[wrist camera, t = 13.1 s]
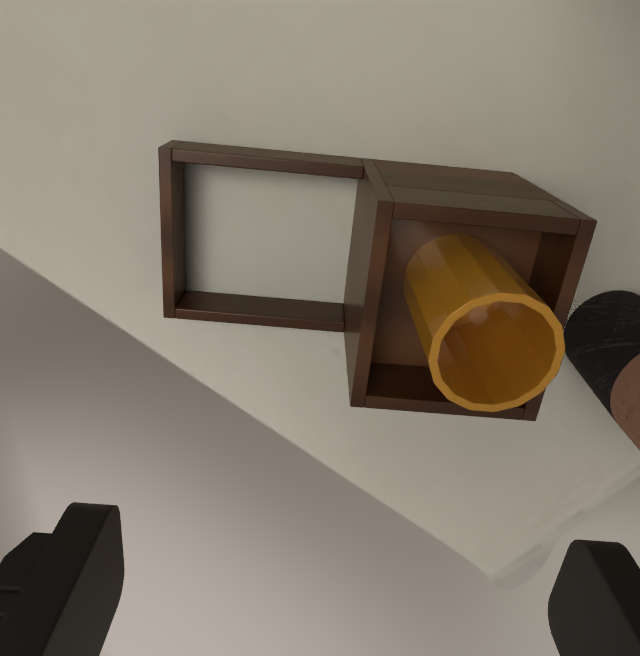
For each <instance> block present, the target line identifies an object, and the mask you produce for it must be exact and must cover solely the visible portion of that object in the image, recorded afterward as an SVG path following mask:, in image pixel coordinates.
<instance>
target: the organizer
mask: <svg viewBox="0 0 640 656" xmlns="http://www.w3.org/2000/svg"><path fill="white" fill-rule="evenodd" d="M158 152H159V184H160V216H161V248H162V279H163V311H164V318H178V319H190V320H202V321H214V322H226V323H238V324H250V325H262V326H274V327H286V328H298V329H310V330H322V331H334V332H344V338H345V350H346V362H347V374H348V386H349V398H350V406H351V407H365V408H376V409H389V410H402V411H414V412H427V413H440V414H452V415H465V416H478V417H491V418H503V419H516V420H521V419H522V420H527V421H536V418H537V414H538V411H539V408H540V405H541V402H542V398H543V395H544V392H545V389H546V388H545V389H544V390H543V391H542V392H541V393H540V394H538V395H537V396H535V397H533V398H532V399H530V400H528V401H527V402H525V403H524V404H522V405H519V406H517V407H513V408H509V409H505V410H501V411H497V412H487V411H475V410H468V409H466V408H464V407H462V406H460V405H458V404H456V403H454V402H452V401H450V400H448V399H447V398H446V397H445V396H444V394H443V393H442V392H441V391H440V390H439V389H438V387H437V386H436V385H435V384H434V382H433V380H432V377H431V374H430V371H429V368H428V365H427V362H426V360H425V357H424V354H423V351H422V348H421V345H420V342H419V340H418V337H417V334H416V331H415V328H414V325H413V322H412V320H411V317H410V314H409V311H408V308H407V304H406V301H405V298H404V294H403V277H404V272H405V270H406V267H407V265H408V263H409V261H410V259H411V258H412V257H413V255H414V254H415V253H416V252H417V251H418V250H419V249H420V248H421V247H422V246H423V245H425V244H426V243H428V242H429V241H431V240H433V239H435V238H437V237H440V236H443V235H448V234H456V233H459V234H469V235H472V236H476V237H478V238H480V239H482V240H484V241H485V242H487V243H488V244H489V245H490V246H492V247H493V248H494V249H495V250H496V251H497V252H498V253H499V254H500V255H501V256H502V257H503V258H504V259H505V260H506V261H507V263H508V264H509V265H510V266H511V267H512V268H513V269H514V270H515V271H516V272H517V273H518V274H519V275H520V277H521V278H522V279H523V280H524V281H525V282H526V283H527V284H528V285H529V286H530V287H531V288H532V289H533V290H534V292H535V293H536V294H537V295H538V296H539V297H540V298H541V299H542V300H543V301H544V302H545V303H546V304H547V306H548V307H549V308H550V309H551V311H552V312H553V313H554V315H555V316H556V318H557V319H558V320H559V322H560V323H561V325H562V327H563V330H564V327H565V324H566V321H567V317H568V314H569V311H570V308H571V305H572V301H573V298H574V295H575V292H576V288H577V285H578V282H579V279H580V275H581V272H582V269H583V266H584V262H585V259H586V256H587V253H588V250H589V246H590V243H591V240H592V237H593V233H594V230H595V227H596V224H597V221H596V220H595V219H593V218H591V217H589V216H588V215H586V214H584V213H582V212H581V211H579V210H577V209H575V208H574V207H572V206H570V205H569V204H567V203H565V202H563V201H561V200H560V199H558V198H556V197H554V196H553V195H551V194H549V193H547V192H546V191H544V190H542V189H540V188H539V187H537V186H535V185H534V184H532V183H530V182H528V181H527V180H525V179H523V178H521V177H520V176H518V175H516V174H514V173H511V172H501V171H490V170H480V169H469V168H459V167H448V166H438V165H427V164H417V163H406V162H396V161H385V160H375V159H373V160H372V159H364V158H361V159H360V158H353V157H343V156H332V155H322V154H311V153H301V152H290V151H280V150H269V149H259V148H248V147H238V146H227V145H217V144H206V143H196V142H183V141H175V140H172V141H170V142H168V143H166V144H164V145H162V146H160V147H159V148H158ZM184 163H194V164H204V165H215V166H226V167H236V168H247V169H258V170H268V171H279V172H290V173H300V174H311V175H322V176H332V177H343V178H354V179H358V185H357V193H356V202H355V210H354V219H353V227H352V236H351V244H350V252H349V261H348V269H347V278H346V286H345V294H344V303H343V304H338V303H327V302H315V301H303V300H291V299H280V298H268V297H256V296H245V295H233V294H221V293H210V292H198V291H185V215H184Z"/></svg>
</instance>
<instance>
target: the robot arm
mask: <svg viewBox="0 0 640 656" xmlns="http://www.w3.org/2000/svg"><path fill="white" fill-rule="evenodd" d="M123 580H124V557H123V545H122V533H121V520H120V511H119V508H118V506H117V505H103V504H88V503H75V502H73V503H71V504H70V505H69V506H68V507H67V509H66V510H65V512H64V513H63V515H62V517H61V519H60V520H59V522H58V524H57V526H56V527H55V529H54V531H53V533H52V534H51V533H35V532H33V533H32V534H31V535H30V536H28V537H27V538H26V539H25V540H24V541H22V542H21V543H20V544H19V545H18V546H17V547H15V548H14V549H13V550H12V551H10V552H9V553H8V554H7V555H6V556H5V557H4V558H3V560H2V561H1V563H0V656H99V654H100V652H101V649H102V646H103V644H104V641H105V639H106V636H107V633H108V631H109V628H110V625H111V622H112V620H113V617H114V614H115V612H116V609H117V606H118V603H119V600H120V596H121V592H122V586H123ZM548 619H549V625H550V630H551V634H552V636H553V639H554V642H555V644H556V647H557V649H558V652H559V654H560V656H640V568H639V567H638V565H637V564H636V562H635V560H634V559H633V557H632V556H631V554H630V553H629V551H628V550H627V548H626V547H625V546H624V545H622V544H620V543H618V542H604V541H589V540H574V541H573V542H572V543H571V544H570V546H569V548H568V550H567V553H566V556H565V558H564V561H563V563H562V566H561V569H560V571H559V574H558V576H557V579H556V582H555V584H554V587H553V589H552V592H551V595H550V598H549V602H548Z"/></svg>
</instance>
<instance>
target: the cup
mask: <svg viewBox="0 0 640 656" xmlns="http://www.w3.org/2000/svg"><path fill="white" fill-rule="evenodd" d="M403 294H404V298H405V301H406V304H407V308H408V311H409V314H410V317H411V320H412V322H413V325H414V328H415V331H416V334H417V337H418V340H419V342H420V345H421V348H422V351H423V354H424V357H425V360H426V362H427V365H428V368H429V371H430V374H431V377H432V380H433V382H434V384H435V385H436V386H437V387H438V389H439V390H440V391H441V392H442V393H443V394H444V396H445V397H446V398H447V399H448V400H450V401H452V402H454V403H456V404H458V405H460V406H462V407H464V408H466V409H468V410H475V411H487V412H497V411H501V410H505V409H509V408H513V407H517V406H519V405H522V404H524V403H525V402H527V401H528V400H530V399H532V398H533V397H535V396H537V395H538V394H540V393H541V392H542V391H543V390H544V389H545V388H546V387H547V385H548V384H549V383H550V382H551V381H552V379H553V378H554V377H555V376H556V374H557V373H558V371H559V368H560V365H561V362H562V359H563V356H564V353H565V342H564V334H563V327H562V325H561V323H560V322H559V320H558V319H557V318H556V316H555V315H554V313H553V312H552V311H551V309H550V308H549V307H548V306H547V304H546V303H545V302H544V301H543V300H542V299H541V298H540V297H539V296H538V295H537V294H536V293H535V292H534V290H533V289H532V288H531V287H530V286H529V285H528V284H527V283H526V282H525V281H524V280H523V279H522V278H521V277H520V275H519V274H518V273H517V272H516V271H515V270H514V269H513V268H512V267H511V266H510V265H509V264H508V263H507V261H506V260H505V259H504V258H503V257H502V256H501V255H500V254H499V253H498V252H497V251H496V250H495V249H494V248H493V247H492V246H490V245H489V244H488V243H487V242H485V241H484V240H482V239H480V238H478V237H476V236H472V235H469V234H459V233H456V234H448V235H443V236H440V237H437V238H435V239H433V240H431V241H429V242H428V243H426V244H425V245H423V246H422V247H421V248H420V249H419V250H418V251H417V252H416V253H415V254H414V255H413V257H412V258H411V259H410V261H409V263H408V265H407V267H406V270H405V272H404V277H403Z"/></svg>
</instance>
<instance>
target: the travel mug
mask: <svg viewBox="0 0 640 656" xmlns="http://www.w3.org/2000/svg"><path fill="white" fill-rule="evenodd" d="M564 342H565V352H566V354H567V356H568V358H569V359H570V361H571V362H572V364H573V365H574V366H575V368H576V369H577V371H578V372H579V373H580V375H581V376H582V377H583V379H584V380H585V381H586V383H587V384H588V385H589V387H590V388H591V389H592V391H593V392H594V393H595V395H596V396H597V397H598V399H599V400H600V401H601V403H602V404H603V405H604V407H605V408H606V409H607V411H608V412H609V413H610V415H611V416H612V417H613V419H614V420H615V421H616V422H617V424H618V425H619V426H620V427H621V429H622V430H623V431H624V432H625V433H626V435H627V436H628V437H629V438H630V439H631V440H632V442H633V443H634V444H635V445H636V446H637V448H638V449H639V450H640V295H637V294H635V293H632V292H627V291H610V292H605V293H602V294H599V295H597V296H594V297H592V298H590V299H589V300H587V301H586V302H584V303H583V304H582V305H581V306H579V307H578V308H577V309H576V310H575V312H574V313H573V314H572V315H571V317H570V318H569V320H568V322H567V324H566V327H565V330H564Z"/></svg>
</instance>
